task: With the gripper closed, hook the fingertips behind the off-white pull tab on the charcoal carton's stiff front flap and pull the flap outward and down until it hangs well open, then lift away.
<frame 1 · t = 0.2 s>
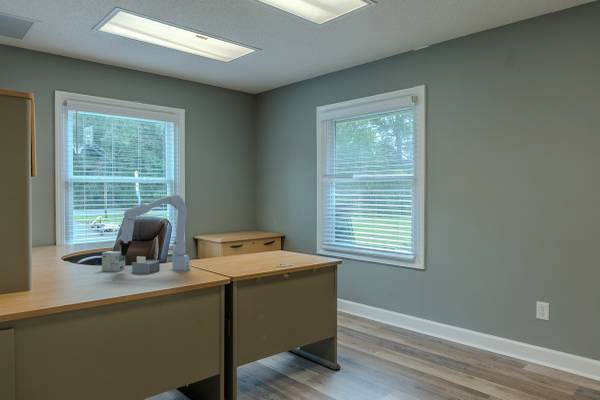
hand: (123, 254, 233), 10 cm above the table, tool pointing down, fingers open, 7 cm apart
light bulb box: (113, 270, 241), on the table
carton flap: (141, 264, 233), point 5 cm above the table, hinge at 0.0°
carton: (146, 272, 238), on the table
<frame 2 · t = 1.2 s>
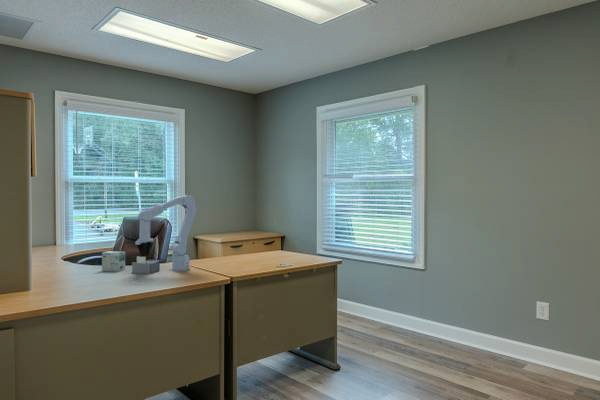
hand: (144, 256, 236), 9 cm above the table, tool pointing down, fingers open, 3 cm apart
nothing on the table moved.
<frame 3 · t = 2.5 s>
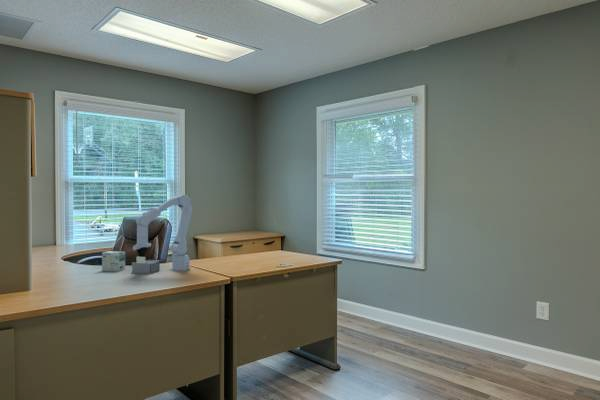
hand: (142, 261, 234), 7 cm above the table, tool pointing down, fingers closed, pressing on carton flap
carton flap: (141, 264, 233), point 5 cm above the table, hinge at 1.6°, touching gripper
everything else where it was.
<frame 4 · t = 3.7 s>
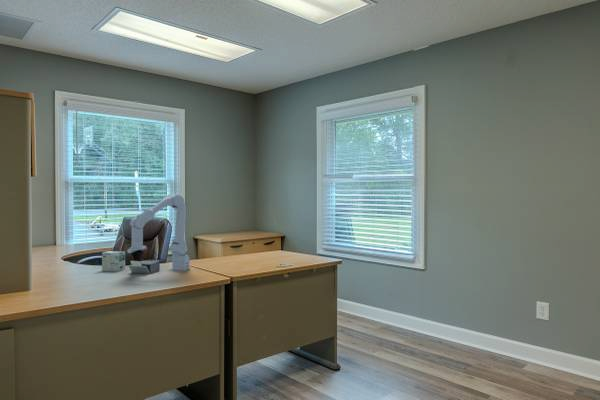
hand: (137, 264, 230), 6 cm above the table, tool pointing down, fingers closed, pressing on carton flap
carton flap: (138, 267, 230), point 4 cm above the table, hinge at 39.2°, touching gripper
everything else where it was.
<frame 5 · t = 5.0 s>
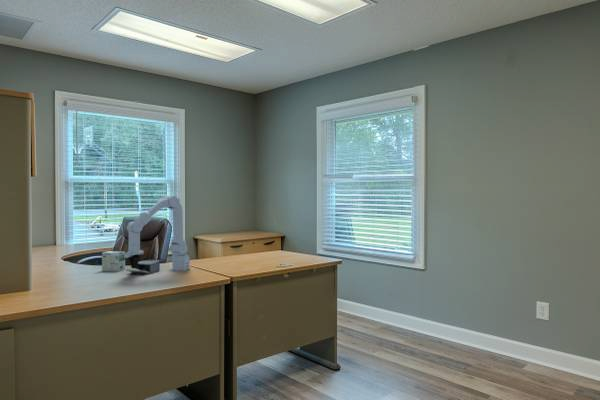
hand: (134, 269, 227), 4 cm above the table, tool pointing down, fingers closed, pressing on carton flap
carton flap: (136, 270, 229), point 3 cm above the table, hinge at 68.0°, touching gripper
everything else where it was.
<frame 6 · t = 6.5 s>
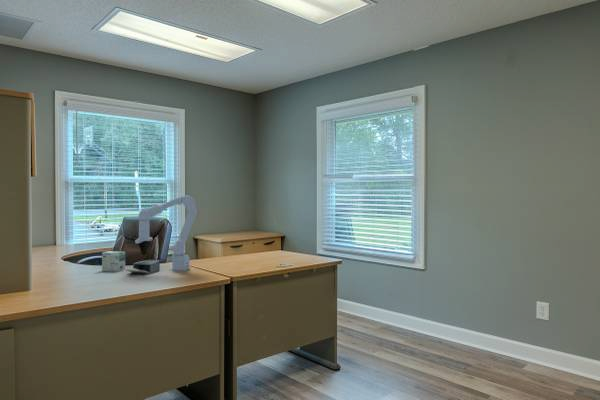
hand: (144, 254, 242), 9 cm above the table, tool pointing down, fingers closed
carton flap: (136, 270, 229), point 3 cm above the table, hinge at 68.5°
everything else where it was.
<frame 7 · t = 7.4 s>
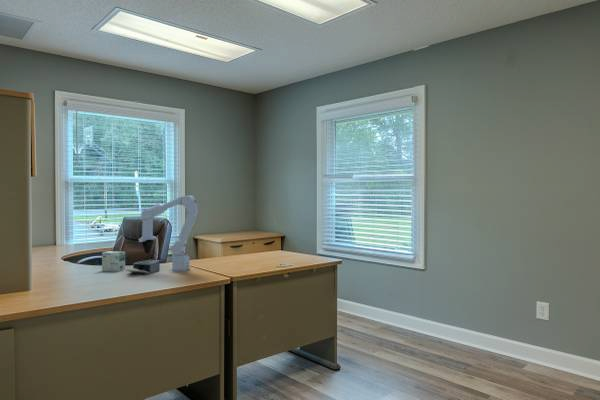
hand: (147, 252, 248), 9 cm above the table, tool pointing down, fingers closed
nothing on the table moved.
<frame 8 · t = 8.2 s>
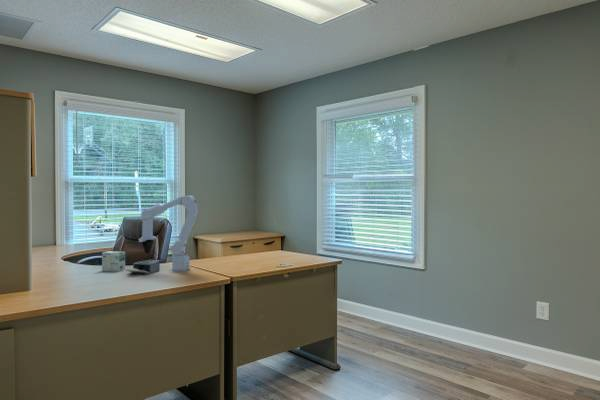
hand: (147, 252, 248), 9 cm above the table, tool pointing down, fingers closed
nothing on the table moved.
at the end: carton flap at +68° (first picture: +0°); the gripper is holding nothing; light bulb box moved 0.3 cm from its start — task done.
